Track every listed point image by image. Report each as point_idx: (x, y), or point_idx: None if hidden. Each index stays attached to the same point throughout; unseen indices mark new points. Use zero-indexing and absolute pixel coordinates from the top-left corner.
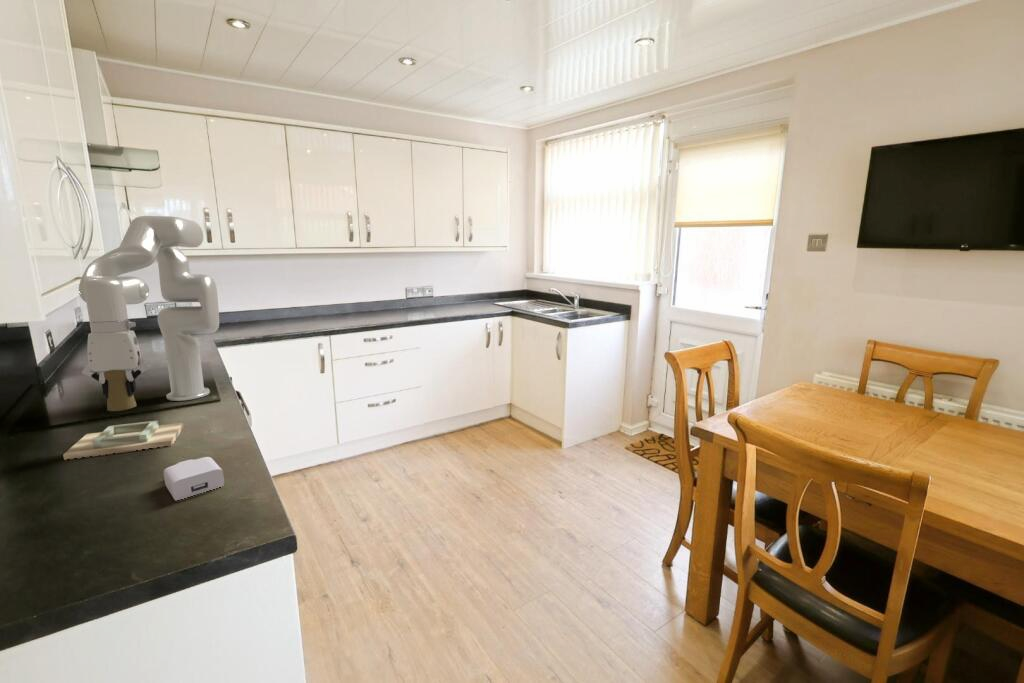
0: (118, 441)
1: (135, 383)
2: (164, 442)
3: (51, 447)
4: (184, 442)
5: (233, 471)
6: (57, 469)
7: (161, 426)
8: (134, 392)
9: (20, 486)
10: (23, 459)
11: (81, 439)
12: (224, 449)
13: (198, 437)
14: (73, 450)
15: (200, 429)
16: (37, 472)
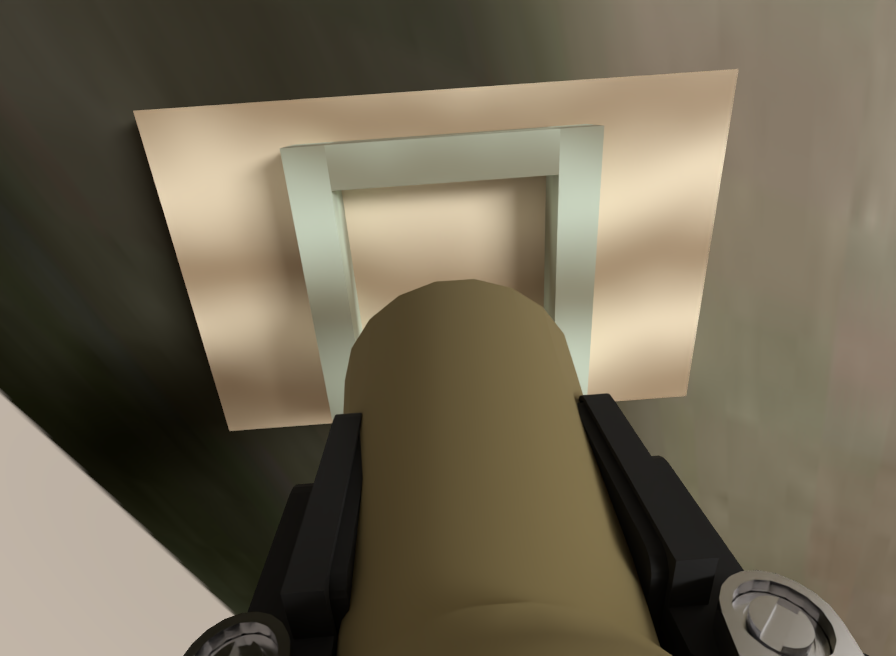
0: None
1: (714, 539)
2: (653, 394)
3: (24, 206)
4: (725, 349)
5: (868, 636)
6: (277, 494)
7: (603, 116)
8: (607, 401)
9: (241, 588)
10: (18, 349)
11: (175, 226)
12: (878, 476)
13: (792, 298)
14: (247, 393)
15: (812, 157)
16: (213, 501)
